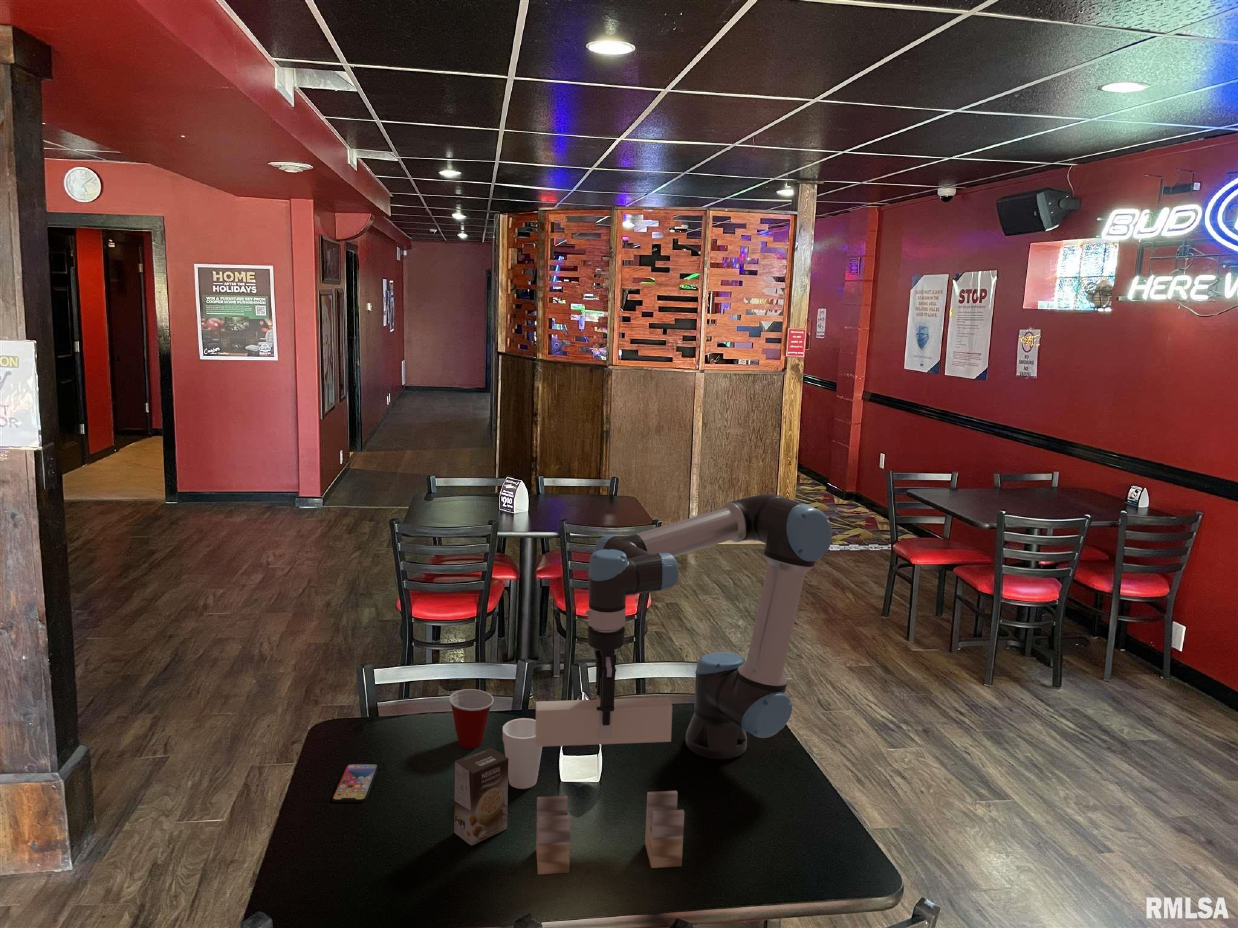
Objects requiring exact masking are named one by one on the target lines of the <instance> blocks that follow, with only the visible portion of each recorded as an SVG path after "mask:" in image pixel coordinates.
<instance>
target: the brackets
mask: <svg viewBox="0 0 1238 928" xmlns="http://www.w3.org/2000/svg"><path fill="white" fill-rule="evenodd" d="M646 793H647V794H646V811H645V813H646V814H645V815H646V816H645V818H646V819H645V835H644V838H645V839H644V840H645V841H644V845H645V848H646V853H647V856H648V860H649V864H650V868H651V869H658V868H672V867H675V868H677V867H682V866H683V865H682V864H683V848H684V847H683V845H684V844H683V843H684V828H685V810H684V809H678V790H666V791H665V790H664V791H647V792H646ZM568 804H569V798H568V795H548V796H537V797H536V837H535V839H536V842H535V843H536V844H535V845H536V846H535V847H536V849H535V852H536V865H537V875H549V874H550V875H551V874H568V873H570V859H571V858H570V857H571V856H570V855H571V854H570V851H571V850H570V849H571V815H570V814H568V810H569V808H568V807H569V805H568Z"/></svg>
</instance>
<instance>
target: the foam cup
mask: <svg viewBox="0 0 1238 928" xmlns="http://www.w3.org/2000/svg"><path fill="white" fill-rule="evenodd" d="M502 742H503V747H504V748H503V749H504V756H506V757H507V758H509V759H508V785H510V786H511V787H513V788H515V789H521V790H524V789H530V788H532V787H534V786H536V784H537V782H538V781H537V780H538V777H539V772H540V771H539V770H540V763H541V758H542V751H543V747H536V719H534V718H527V717H526V718H525V717H521V718H516V719H511V720H509V721H507V722H506V723H504V725H503V726H502Z"/></svg>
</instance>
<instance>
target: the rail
mask: <svg viewBox="0 0 1238 928" xmlns="http://www.w3.org/2000/svg"><path fill="white" fill-rule="evenodd" d="M597 707H600V700H597V699H577V700H576V699H575V700H545V701H544V700H541V701H535V720H536V747H542V748H543V747H561V746H562V747H564V746H565V747H566V746H567V747H568V746H569V747H570V746H588V745H589V746H590V745H591V746H592V745H594V746H595V745H615V744H616V745H617V744H643V743H667V742H668V743H669V742H670V743H671V742H672V728H673V727H672V725H673V721H672V720H673V704H672V702H671V699H670V696H669V697H641V698H640V697H639V698H634V697H633V698H614V711H612V738H599V737H598V730H599V711H597Z"/></svg>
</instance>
